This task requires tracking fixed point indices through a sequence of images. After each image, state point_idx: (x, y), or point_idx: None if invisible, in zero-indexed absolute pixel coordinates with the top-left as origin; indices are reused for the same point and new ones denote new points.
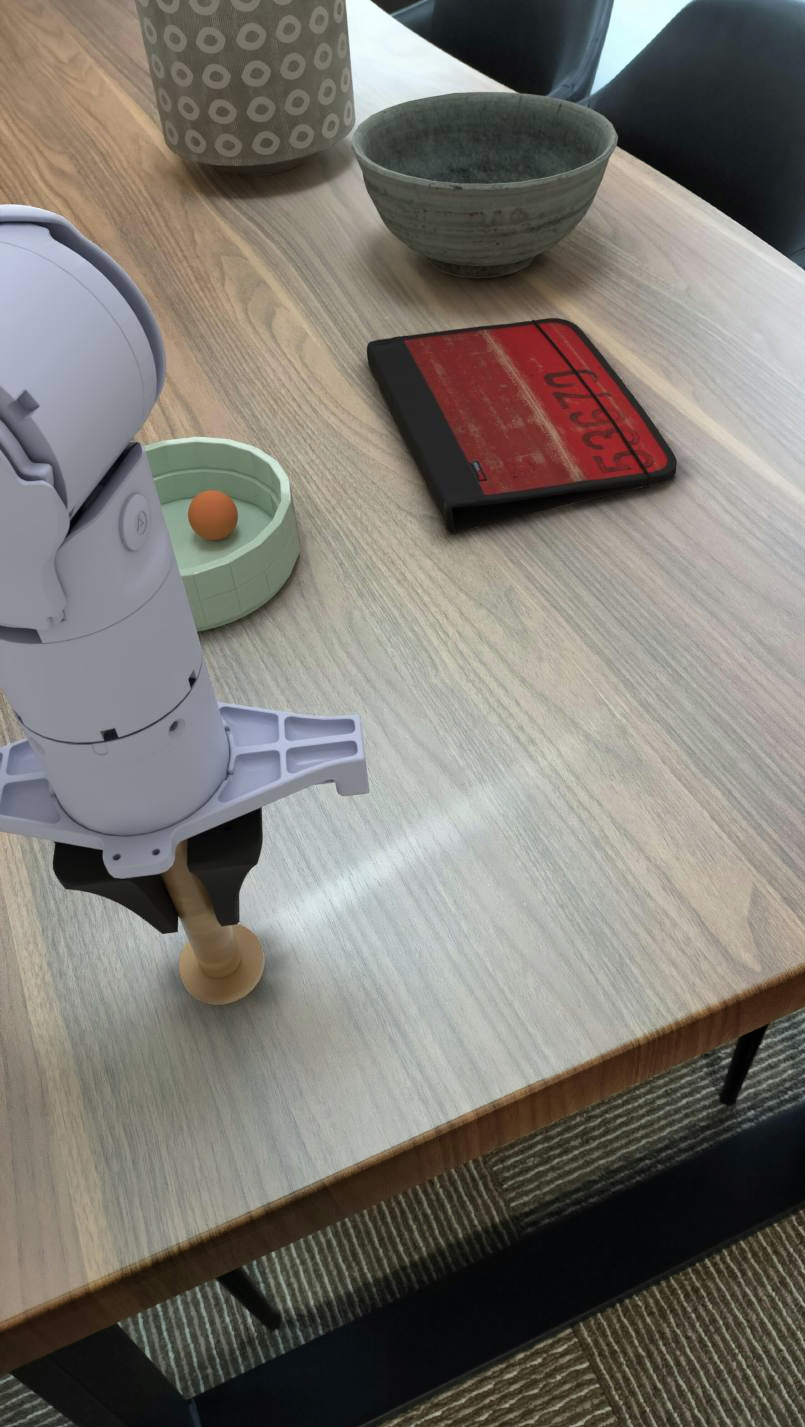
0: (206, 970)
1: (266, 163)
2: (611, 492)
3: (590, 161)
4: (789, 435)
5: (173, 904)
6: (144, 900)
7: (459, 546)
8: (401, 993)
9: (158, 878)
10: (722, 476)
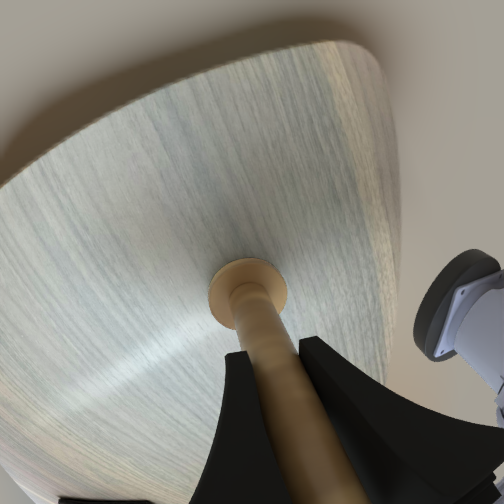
0: (261, 290)
1: None
2: (79, 502)
3: None
4: (28, 495)
5: (308, 375)
6: (364, 406)
7: (141, 497)
8: (85, 270)
9: (333, 416)
10: (41, 492)
